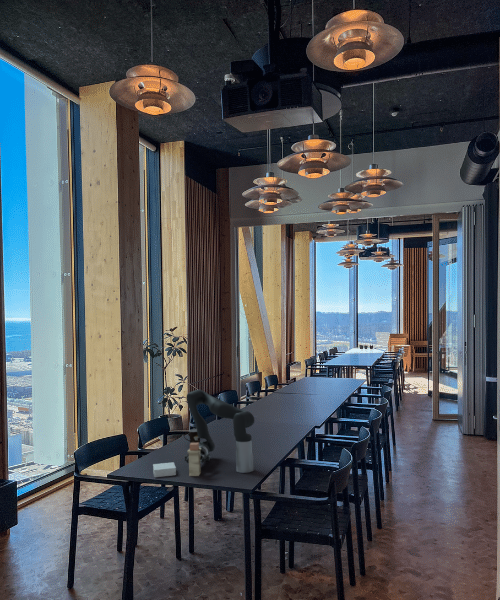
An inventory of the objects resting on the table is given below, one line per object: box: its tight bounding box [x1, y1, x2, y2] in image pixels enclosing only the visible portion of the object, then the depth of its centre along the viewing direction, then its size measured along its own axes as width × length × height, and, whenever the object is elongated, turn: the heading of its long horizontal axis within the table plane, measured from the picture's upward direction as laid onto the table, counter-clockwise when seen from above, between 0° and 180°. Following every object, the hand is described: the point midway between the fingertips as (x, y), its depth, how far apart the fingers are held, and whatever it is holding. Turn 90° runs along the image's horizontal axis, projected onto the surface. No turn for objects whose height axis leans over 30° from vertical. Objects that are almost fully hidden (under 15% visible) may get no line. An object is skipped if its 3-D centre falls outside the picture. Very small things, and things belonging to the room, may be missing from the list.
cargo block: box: [189, 443, 199, 450], centre depth 279 cm, size 4×4×3 cm
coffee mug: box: [183, 428, 201, 445], centre depth 347 cm, size 12×9×10 cm
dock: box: [152, 461, 177, 478], centre depth 282 cm, size 12×12×4 cm
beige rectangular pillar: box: [187, 448, 202, 477], centre depth 278 cm, size 6×6×14 cm
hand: (194, 461), depth 279 cm, fingers open, 8 cm apart
